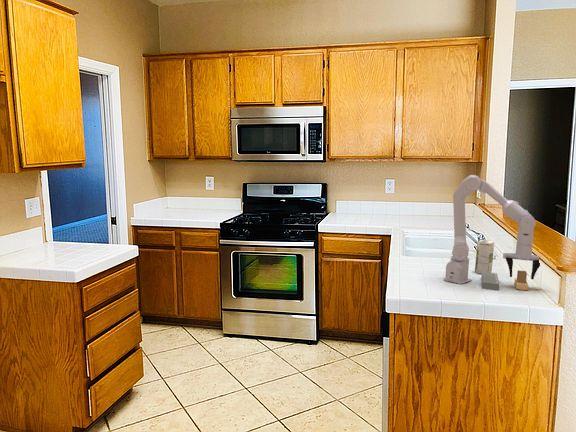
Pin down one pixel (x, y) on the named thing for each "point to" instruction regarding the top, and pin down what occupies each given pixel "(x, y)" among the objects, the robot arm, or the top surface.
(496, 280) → the grey block
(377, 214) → the top surface
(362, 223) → the top surface
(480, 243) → the syrup box
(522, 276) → the stub
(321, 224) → the top surface
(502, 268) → the top surface
